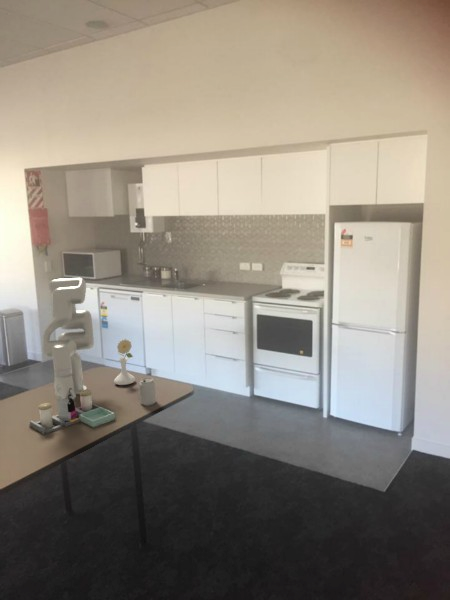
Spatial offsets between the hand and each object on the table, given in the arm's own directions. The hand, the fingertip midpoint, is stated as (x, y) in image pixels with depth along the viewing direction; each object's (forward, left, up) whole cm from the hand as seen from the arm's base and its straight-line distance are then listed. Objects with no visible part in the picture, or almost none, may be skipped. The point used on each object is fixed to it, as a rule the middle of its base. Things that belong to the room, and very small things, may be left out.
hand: (66, 408), depth 227 cm
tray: (+11, +8, -5) cm, 15 cm away
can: (+14, +35, -5) cm, 38 cm away
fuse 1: (0, -10, -5) cm, 11 cm away
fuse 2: (0, +10, -5) cm, 11 cm away
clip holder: (0, 0, -5) cm, 5 cm away
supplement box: (0, 0, -5) cm, 5 cm away
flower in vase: (-18, +45, -5) cm, 49 cm away
